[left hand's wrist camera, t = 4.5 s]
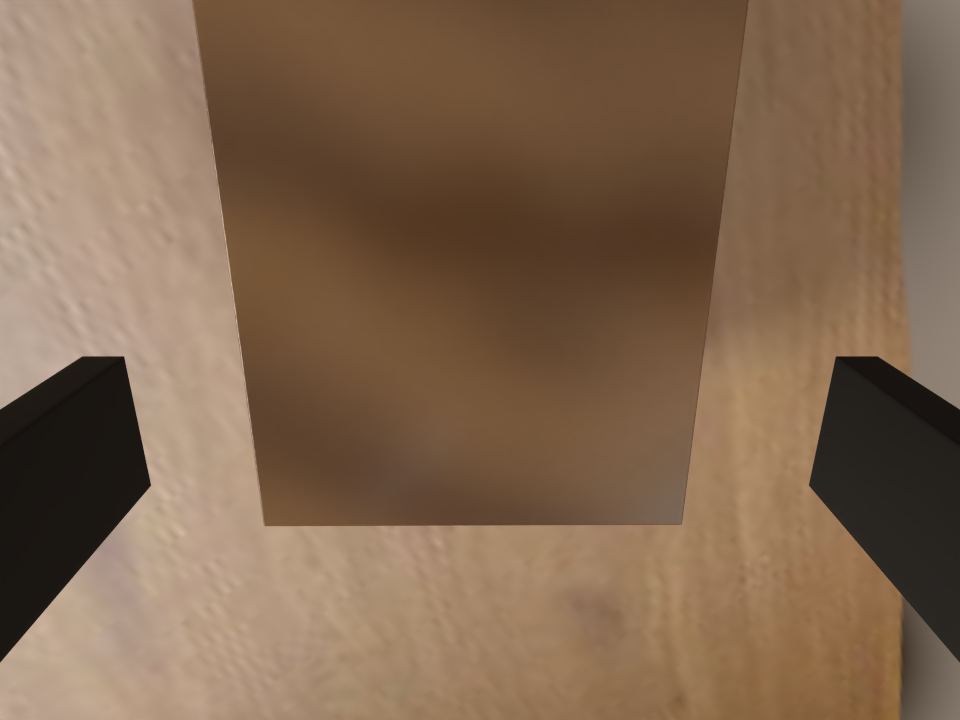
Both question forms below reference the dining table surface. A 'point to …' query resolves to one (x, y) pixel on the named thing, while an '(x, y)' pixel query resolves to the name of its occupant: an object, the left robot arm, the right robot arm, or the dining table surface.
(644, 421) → the cabinet
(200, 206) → the dining table surface
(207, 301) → the dining table surface
